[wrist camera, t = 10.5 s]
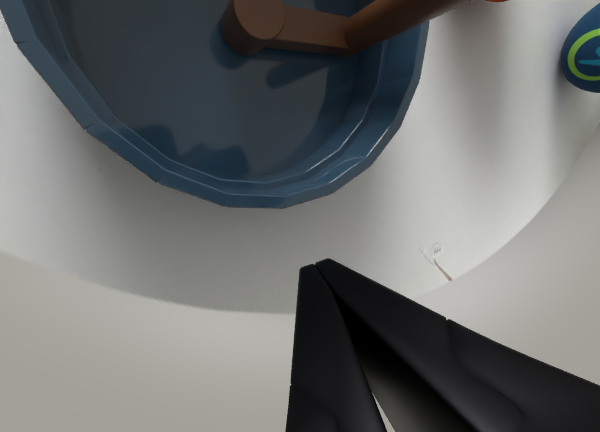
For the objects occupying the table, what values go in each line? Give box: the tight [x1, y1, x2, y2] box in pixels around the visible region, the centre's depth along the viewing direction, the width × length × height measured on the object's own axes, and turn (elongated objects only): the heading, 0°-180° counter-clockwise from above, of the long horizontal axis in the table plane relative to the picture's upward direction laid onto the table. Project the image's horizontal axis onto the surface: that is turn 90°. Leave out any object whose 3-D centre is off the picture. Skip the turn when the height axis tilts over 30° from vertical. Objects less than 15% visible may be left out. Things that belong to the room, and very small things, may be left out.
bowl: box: [0, 0, 429, 209], centre depth 13 cm, size 17×17×5 cm
